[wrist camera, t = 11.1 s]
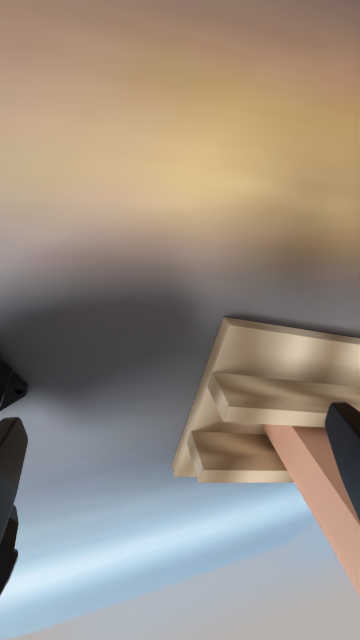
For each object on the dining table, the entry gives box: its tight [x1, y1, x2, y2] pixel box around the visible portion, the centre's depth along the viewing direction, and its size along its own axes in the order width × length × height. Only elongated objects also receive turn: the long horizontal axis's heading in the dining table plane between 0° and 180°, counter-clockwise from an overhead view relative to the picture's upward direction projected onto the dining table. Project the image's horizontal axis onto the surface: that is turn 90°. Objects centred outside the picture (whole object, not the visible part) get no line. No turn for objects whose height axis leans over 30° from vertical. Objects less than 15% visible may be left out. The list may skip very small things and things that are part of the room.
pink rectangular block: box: [262, 424, 360, 595], centre depth 22 cm, size 4×3×12 cm, turn 75°
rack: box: [172, 317, 360, 483], centre depth 26 cm, size 16×14×5 cm
